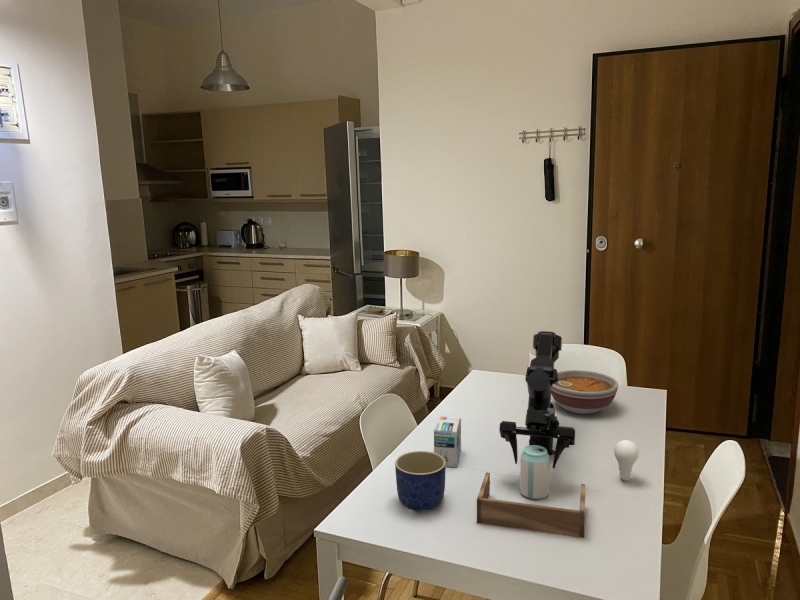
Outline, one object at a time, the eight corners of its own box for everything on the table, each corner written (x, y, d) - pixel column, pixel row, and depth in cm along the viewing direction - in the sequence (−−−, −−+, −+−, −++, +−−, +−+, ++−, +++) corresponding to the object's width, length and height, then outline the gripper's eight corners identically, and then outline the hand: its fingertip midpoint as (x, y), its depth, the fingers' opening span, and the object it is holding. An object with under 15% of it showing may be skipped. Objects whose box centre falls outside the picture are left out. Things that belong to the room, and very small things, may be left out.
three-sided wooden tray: (485, 494, 156) (485, 472, 155) (584, 506, 149) (585, 484, 148) (476, 522, 143) (476, 499, 142) (583, 538, 136) (584, 513, 135)
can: (525, 484, 160) (526, 441, 158) (552, 490, 157) (553, 447, 154) (516, 496, 154) (516, 452, 152) (543, 503, 151) (544, 458, 149)
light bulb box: (457, 468, 170) (457, 431, 168) (433, 466, 171) (433, 430, 169) (461, 451, 180) (461, 416, 178) (438, 449, 182) (438, 415, 179)
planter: (386, 500, 154) (385, 460, 152) (424, 484, 161) (423, 446, 159) (417, 522, 144) (416, 479, 142) (456, 504, 152) (456, 463, 149)
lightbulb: (636, 476, 163) (639, 437, 161) (637, 487, 158) (639, 447, 155) (612, 473, 165) (614, 434, 163) (612, 483, 160) (614, 444, 157)
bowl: (537, 413, 207) (538, 385, 205) (558, 392, 226) (559, 366, 224) (607, 426, 195) (609, 396, 193) (623, 403, 214) (625, 375, 212)
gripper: (500, 391, 157) (494, 450, 149) (576, 397, 152) (573, 458, 144) (504, 409, 166) (498, 465, 158) (575, 415, 161) (573, 473, 153)
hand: (534, 465), depth 153 cm, fingers open, 9 cm apart
